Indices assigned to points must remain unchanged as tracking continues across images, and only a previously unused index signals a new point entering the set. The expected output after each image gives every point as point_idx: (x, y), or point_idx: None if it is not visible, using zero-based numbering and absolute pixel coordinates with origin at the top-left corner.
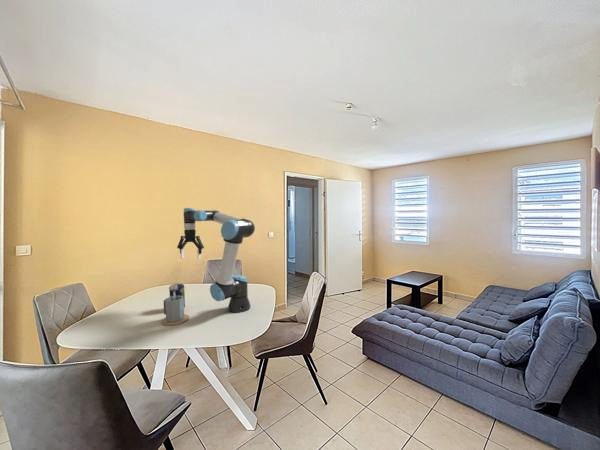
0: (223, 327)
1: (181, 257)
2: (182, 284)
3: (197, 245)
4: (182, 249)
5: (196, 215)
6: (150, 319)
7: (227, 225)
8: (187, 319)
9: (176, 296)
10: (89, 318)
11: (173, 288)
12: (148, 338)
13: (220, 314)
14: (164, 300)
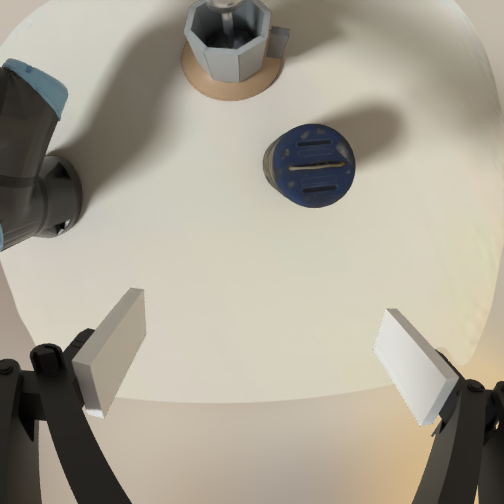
0: (55, 50)
1: (394, 312)
2: (290, 187)
3: (51, 432)
4: (434, 397)
5: None
6: (334, 65)
7: None
8: (182, 59)
9: (238, 49)
10: (500, 108)
11: None
12: None
13: (88, 130)
14: (283, 28)
